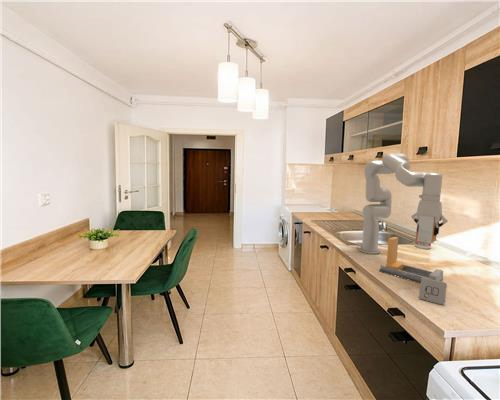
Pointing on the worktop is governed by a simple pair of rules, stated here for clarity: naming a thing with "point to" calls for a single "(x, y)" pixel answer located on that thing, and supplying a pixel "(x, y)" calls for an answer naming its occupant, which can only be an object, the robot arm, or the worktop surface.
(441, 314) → the worktop surface
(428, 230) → the small box
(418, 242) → the fruit juice
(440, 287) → the electrical switch
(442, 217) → the robot arm
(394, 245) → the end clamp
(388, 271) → the din rail
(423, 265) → the worktop surface
